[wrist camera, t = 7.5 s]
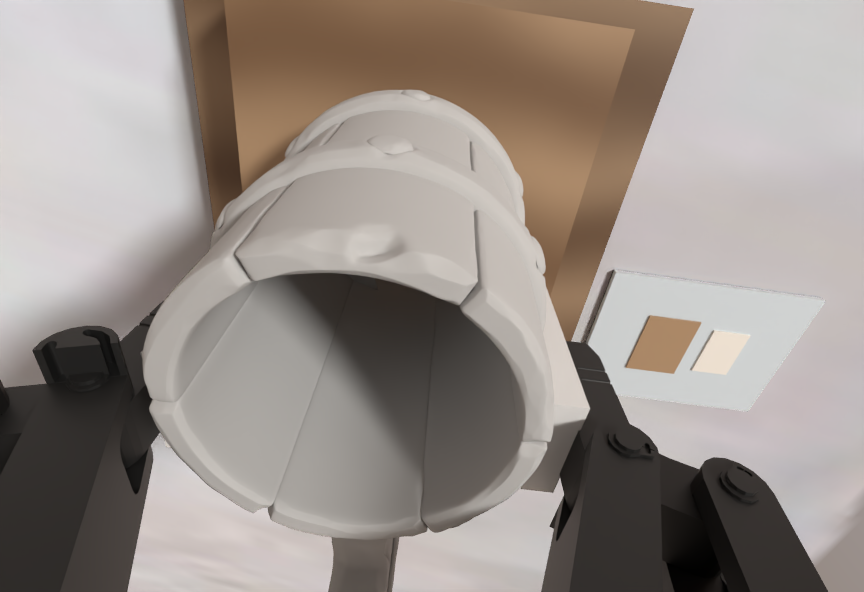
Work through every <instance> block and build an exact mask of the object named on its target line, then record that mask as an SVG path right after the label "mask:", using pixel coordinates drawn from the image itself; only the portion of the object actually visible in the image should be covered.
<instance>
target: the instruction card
mask: <svg viewBox="0 0 864 592" xmlns="http://www.w3.org/2000/svg"><path fill="white" fill-rule="evenodd" d="M825 302H826V301H825V300H824V299H823V298H819V297H812V296H804V295H797V294H790V293H782V292H775V291H768V290H760V289H753V288H746V287H738V286H731V285H723V284H716V283H709V282H701V281H694V280H687V279H679V278H672V277H665V276H657V275H650V274H643V273H635V272H628V271H620V270H614V272H613V274H612V277H611V279H610V282H609V285H608V287H607V290H606V292H605V295H604V297H603V300H602V302H601V305H600V307H599V310H598V313H597V315H596V318H595V320H594V323H593V325H592V328H591V330H590V333H589V335H588V338H587V341H586V344H588V345H589V346H590V347H591V348H592V349H593V350H594V352H595V353H596V354H597V355H598V356H599V357H600V359H601V361H602V363H603V366H604V368H605V373H607V375H608V377H609V379H610V381H611V382H610V384H612V386H613V388H614V390H615V393H616V395H619V396H627V397H635V398H643V399H651V400H659V401H667V402H675V403H683V404H691V405H699V406H707V407H715V408H722V409H730V410H738V411H746V412H748V411H749V409H750V408H751V406H752V405H753V404H754V402H755V401H756V399H757V398H758V397H759V395H760V394H761V392H762V391H763V389H764V388H765V387H766V385H767V384H768V382H769V381H770V380H771V378H772V377H773V375H774V374H775V372H776V371H777V370H778V368H779V367H780V365H781V364H782V363H783V361H784V360H785V358H786V357H787V355H788V354H789V353H790V351H791V350H792V348H793V347H794V346H795V344H796V343H797V341H798V340H799V338H800V337H801V336H802V334H803V333H804V331H805V330H806V329H807V327H808V326H809V324H810V323H811V321H812V320H813V319H814V317H815V316H816V314H817V313H818V312H819V310H820V309H821V307H822V306H823V304H824V303H825Z"/></svg>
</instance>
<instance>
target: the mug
mask: <svg viewBox="0 0 864 592" xmlns="http://www.w3.org/2000/svg"><path fill="white" fill-rule="evenodd" d="M285 157H286V158H285V159H284V161H283V162H281V163H279V164H278V165H276V166H275V167H273V168H272V169H270V170H269V171H268V172H266V173H265V174H264V175H262V176H261V177H260V178H259V179H257V180H256V181H255V182H254V183H253V184H251V185H250V186H249V187H248V188H247V189H246V190H245V191H244V192H243V193H242V194H241V195H240V196H238V197H237V198H236V199H234V200H232V201H230V202H229V203H228V204H227V205H226V206H225V207H224V209H223V210H222V212H221V214H220V216H219V218H218V220H217V222H216V226H215V232H214V233H213V234H212V238H211V244H210V250H209V251H208V252H207V254H206V255H205V256H204V257H203V258H202V259H201V260H200V261H199V262H198V263H197V264H196V265H195V266H194V267H193V268H192V269H191V271H190V272H189V273H188V274H187V275H186V276H185V277H184V278H183V279H182V280H181V281H180V282H179V283H178V284H177V286H176V287H175V288H174V289H173V290H172V291H171V293H170V294H169V295H168V297H167V298H166V299H165V301H164V302H163V303H162V305H161V306H160V308H159V310H158V311H157V313H156V315H155V317H154V319H153V321H152V323H151V325H150V328H149V330H148V333H147V336H146V339H145V343H144V348H143V355H142V364H143V375H144V380H145V383H146V386H147V389H148V393H149V396H150V397H151V398H152V399H153V400H152V402H151V404H150V407H149V411H150V414H151V415H152V418H153V420H154V422H155V424H156V426H157V428H158V429H159V431H160V433H161V434H162V436H163V437H164V439H165V440H166V442H167V443H168V444H169V446H170V447H171V448H172V449H173V451H174V452H175V453H176V454H177V456H178V457H179V458H180V459H181V460H182V461H183V462H185V463H186V464H187V465H188V466H189V467H190V468H191V469H192V470H193V471H194V472H195V473H196V474H197V475H198V476H199V477H200V478H201V479H202V480H203V481H204V482H205V483H206V484H207V485H208V486H210V487H211V488H212V489H214V490H215V491H217V492H219V493H220V494H222V495H223V496H225V497H226V498H228V499H229V500H231V501H232V502H234V503H235V504H237V505H238V506H240V507H242V508H243V509H245V510H247V511H250V512H252V513H255V512H256V511H257V510H259V509H261V508H265V507H268V513H269V515H270V518H271V520H272V521H274V522H276V523H278V524H281V525H284V526H286V527H288V528H291V529H294V530H298V531H302V532H306V533H310V534H315V535H321V536H327V537H332V545H333V551H334V557H333V569H332V576H331V581H330V586H329V591H328V592H392V587H393V580H394V571H395V562H396V555H397V549H398V543H399V537H402V536H415V535H418V534H421V533H424V532H426V531H427V528H429V529H430V530H431V531H432V532H441V531H444V530H446V529H448V528H454V527H457V526H459V525H461V524H463V523H465V522H467V521H469V520H471V519H472V518H473V517H476V516H478V515H480V514H482V513H484V512H486V511H488V510H489V509H491V508H493V507H495V506H497V505H498V504H500V503H502V502H504V501H505V500H507V499H508V498H509V497H511V496H512V495H513V494H514V493H515V492H516V491H517V490H518V489H519V488H520V487H521V486H522V485H523V484H524V483H525V482H526V481H527V480H528V479H529V478H530V476H531V475H532V474H533V473H534V472H535V470H536V469H537V468H538V466H539V464H540V463H541V461H542V459H543V457H544V455H545V453H546V451H547V442H550V441H551V438H552V434H553V425H554V390H553V381H552V372H551V366H550V361H549V356H548V352H547V348H546V344H545V340H544V335H543V331H544V326H545V322H546V283H545V277H544V276H543V274H544V273H545V269H546V265H545V258H544V254H543V250H542V248H541V246H540V244H539V243H538V241H537V240H536V239H535V238H534V237H533V236H531V235H530V233H529V230H528V229H527V228H526V226H525V209H524V202H523V199H522V196H523V183H522V180H521V177H520V176H519V174H518V173H517V172H516V171H515V170H514V167H513V164H512V162H511V160H510V158H509V156H508V155H507V153H506V151H505V150H504V148H503V147H502V145H501V144H500V142H499V141H498V140H497V138H496V137H495V136H494V135H493V133H492V132H491V131H490V130H489V129H488V128H487V127H486V126H485V125H484V124H483V123H482V122H480V121H479V120H478V119H477V118H475V117H474V116H473V115H471V114H470V113H468V112H467V111H465V110H464V109H462V108H461V107H459V106H457V105H455V104H453V103H451V102H449V101H447V100H444V99H442V98H439V97H436V96H433V95H429V94H427V93H426V92H424V91H420V90H383V91H374V92H370V93H366V94H362V95H359V96H356V97H353V98H350V99H347V100H345V101H343V102H341V103H339V104H337V105H335V106H333V107H331V108H329V109H328V110H326V111H325V112H323V113H322V114H321V115H320V116H319V117H317V118H316V119H315V120H314V121H313V122H312V123H310V124H309V125H308V126H307V127H306V128H305V130H304V131H303V132H302V133H301V134H300V135H299V136H297V137H296V138H295V139H294V140H293V141H292V142H291V143H290V145H289V146H288V148H287V150H286V152H285Z"/></svg>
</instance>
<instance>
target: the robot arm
mask: <svg viewBox="0 0 864 592" xmlns="http://www.w3.org/2000/svg"><path fill="white" fill-rule="evenodd" d="M164 301H165V300H164ZM164 301H162V302H161V303H160V304H159V305H158V306H157V307H156V308H155V309H154V310H153V311H152V312H151V313H150V316H147V317H146V318H145V319H143V320H142V321H141V322H140V325H139V326H136V327H135V328H134V329H133V330H132V331H131V332H130V333H129V334H128V335H127V336H126V337H125V338H123V339H122V340H121V341H119V338H118V335H117V334H116V333H115V332H114V331H113V330H112V329H109V328H105V327H102V326H83V327H77V328H71V329H67V330H64V331H62V332H59V333H56V334H53V335H52V336H50V337H48V338H46V339H45V340H43V341H41V342H40V343H39V344H38V345H37V346H36V347H35V348H34V349H33V350H32V351H33V353H34V355H35V358H36V360H37V362H38V364H39V367H40V369H41V371H42V374H43V376H44V378H45V381H46V383H47V384H39V385H29V386H19V387H8V388H4V386H3V384H2V382H1V380H0V592H127V589H128V584H129V579H130V574H131V569H132V564H133V559H134V554H135V549H136V544H137V539H138V534H139V529H140V524H141V519H142V514H143V509H144V504H145V499H146V494H147V489H148V484H149V479H150V474H151V469H152V464H153V452H152V448H151V444H152V443H153V441H154V440H155V438H156V437H157V436H158V434H159V433H160V431H159V429H158V428H157V426H156V424H155V422H154V420H153V418H152V415H151V414H150V411H149V407H150V404H151V402H152V400H153V399H152V398H151V397H150V396H149V393H148V389H147V386H146V383H145V380H144V375H143V364H142V355H143V348H144V343H145V339H146V336H147V333H148V330H149V328H150V325H151V323H152V321H153V319H154V317H155V315H156V313H157V311H158V310H159V308H160V306H161V305H162V303H163V302H164ZM543 335H544V340H545V344H546V348H547V352H548V356H549V361H550V366H551V372H552V381H553V390H554V425H553V434H552V438H551V441H550V442H547V451H546V453H545V455H544V457H543V459H542V461H541V463H540V464H539V466H538V468H537V469H536V470H535V472H534V473H533V474H532V475H531V476H530V478H529V479H528V480H527V481H526V482H525V483H524V484H523V485H522V486H521V489H527V490H535V491H544V492H552V493H553V492H554V489H555V487H556V485H557V483H558V480H559V478H561V483H562V487H563V491H564V497H563V499H562V501H561V503H560V505H559V507H558V509H557V512H556V514H555V516H554V518H553V520H552V522H551V524H550V527H552V528H554V532H553V537H552V542H551V547H550V552H549V556H548V561H547V566H546V571H545V576H544V581H543V586H542V591H541V592H828V590H827V589H826V587H825V585H824V583H823V581H822V580H821V578H820V576H819V574H818V572H817V571H816V569H815V567H814V565H813V563H812V562H811V560H810V558H809V556H808V554H807V552H806V551H805V549H804V547H803V545H802V543H801V542H800V540H799V538H798V536H797V534H796V533H795V531H794V529H793V527H792V525H791V524H790V522H789V520H788V518H787V516H786V514H785V513H784V511H783V509H782V507H781V505H780V504H779V502H778V500H777V498H776V496H775V495H774V493H773V492H772V490H771V489H770V488H769V486H768V485H767V484H766V482H765V481H763V480H762V479H761V478H760V477H759V476H758V475H756V474H755V473H754V472H753V471H751V470H750V469H748V468H746V467H745V466H743V465H741V464H740V463H737V462H734V461H731V460H729V459H726V458H711V459H709V460H706V461H705V462H704V463H703V465H702V466H701V468H700V469H696V468H694V467H691V466H688V465H686V464H683V463H680V462H678V461H675V460H672V459H670V458H667V457H665V456H663V455H661V454H659V453H658V449H657V447H656V446H655V444H654V443H653V441H652V440H651V439H650V437H648V436H647V435H646V434H645V433H643V432H642V431H641V430H640V429H638V428H636V427H634V426H632V425H630V424H629V422H628V420H627V417H626V415H625V413H624V411H623V408H622V406H621V404H620V402H619V399H618V397H617V395H616V393H615V390H614V388H613V386H612V384H610V382H611V381H610V379H609V377H608V375H607V373H605V368H604V366H603V363H602V361H601V359H600V357H599V356H598V355H597V354H596V353H595V352H594V350H593V349H592V348H591V347H590V346H589V345H588V344H586V343H578V342H571V341H566V340H565V338H564V335H563V332H562V329H561V327H560V324H559V321H558V318H557V315H556V313H555V310H554V307H553V304H552V302H551V299H550V296H549V293H548V290H547V288H546V322H545V326H544V331H543ZM164 441H165V445H166V447H168V448H171V447H170V446H169V444H168V443H167V442H166V440H165V439H164Z"/></svg>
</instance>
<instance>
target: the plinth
mask: <svg viewBox="0 0 864 592" xmlns="http://www.w3.org/2000/svg"><path fill="white" fill-rule="evenodd" d="M183 1H184V8H185V16H186V23H187V30H188V38H189V45H190V52H191V60H192V67H193V74H194V82H195V89H196V96H197V104H198V111H199V119H200V126H201V133H202V141H203V148H204V155H205V163H206V170H207V177H208V185H209V192H210V199H211V207H212V214H213V222H214V229H215V226H216V222H217V220H218V218H219V216H220V214H221V212H222V210H223V209H224V207H225V206H226V205H227V204H228V203H229V202H230V201H232V200H234V199H236V198H237V197H238V196H240V195H241V194H242V193H243V192H244V191H245V190H246V189H247V188H248V187H249V186H250V185H251V184H253V183H254V182H255V181H256V180H257V179H259V178H260V177H261V176H262V175H264V174H265V173H266V172H268V171H269V170H270V169H272V168H273V167H275V166H276V165H278V164H279V163H281V162H283V161H284V159H285V158H286V157H285V152H286V150H287V148H288V146H289V145H290V143H291V142H292V141H293V140H294V139H295V138H296V137H297V136H299V135H300V134H301V133H302V132H303V131H304V130H305V128H306V127H307V126H308V125H309V124H310V123H312V122H313V121H314V120H315V119H316V118H317V117H319V116H320V115H321V114H322V113H323V112H325V111H326V110H328V109H329V108H331V107H333V106H335V105H337V104H339V103H341V102H343V101H345V100H347V99H350V98H353V97H356V96H359V95H362V94H366V93H370V92H374V91H383V90H420V91H424V92H426V93H427V94H429V95H433V96H436V97H439V98H442V99H444V100H447V101H449V102H451V103H453V104H455V105H457V106H459V107H461V108H462V109H464V110H465V111H467V112H468V113H470V114H471V115H473V116H474V117H475V118H477V119H478V120H479V121H480V122H482V123H483V124H484V125H485V126H486V127H487V128H488V129H489V130H490V131H491V132H492V133H493V135H494V136H495V137H496V138H497V140H498V141H499V142H500V144H501V145H502V147H503V148H504V150H505V151H506V153H507V155H508V156H509V158H510V160H511V162H512V164H513V167H514V170H515V171H516V172H517V173H518V174H519V176H520V177H521V180H522V183H523V196H522V199H523V202H524V209H525V226H526V228H527V229H528V230H529V233H530V235H531V236H533V237H534V238H535V239H536V240H537V241H538V243H539V244H540V246H541V248H542V250H543V254H544V258H545V265H546V269H545V273H544V274H543V276H544V277H545V283H546V288H547V290H548V293H549V296H550V299H551V302H552V304H553V307H554V310H555V313H556V315H557V318H558V321H559V324H560V327H561V329H562V332H563V335H564V338H565V340H566V341H571V340H572V337H573V334H574V332H575V329H576V326H577V324H578V321H579V318H580V315H581V313H582V310H583V307H584V305H585V302H586V299H587V297H588V294H589V291H590V288H591V286H592V283H593V280H594V278H595V275H596V272H597V269H598V267H599V264H600V261H601V259H602V256H603V253H604V251H605V248H606V245H607V242H608V240H609V237H610V234H611V232H612V229H613V226H614V224H615V221H616V218H617V215H618V213H619V210H620V207H621V205H622V202H623V199H624V197H625V194H626V191H627V188H628V186H629V183H630V180H631V178H632V175H633V172H634V169H635V167H636V164H637V161H638V159H639V156H640V153H641V151H642V148H643V145H644V142H645V140H646V137H647V134H648V132H649V129H650V126H651V124H652V121H653V118H654V115H655V113H656V110H657V107H658V105H659V102H660V99H661V96H662V94H663V91H664V88H665V86H666V83H667V80H668V78H669V75H670V72H671V69H672V67H673V64H674V61H675V59H676V56H677V53H678V51H679V48H680V45H681V42H682V40H683V37H684V34H685V32H686V29H687V26H688V23H689V21H690V18H691V15H692V13H693V10H694V9H692V8H686V7H679V6H673V5H667V4H660V3H654V2H648V1H641V0H183Z"/></svg>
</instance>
